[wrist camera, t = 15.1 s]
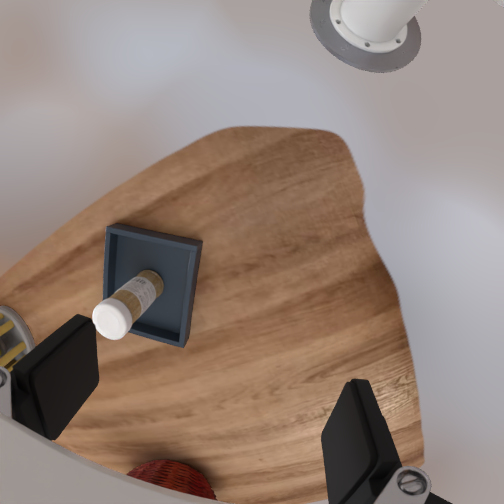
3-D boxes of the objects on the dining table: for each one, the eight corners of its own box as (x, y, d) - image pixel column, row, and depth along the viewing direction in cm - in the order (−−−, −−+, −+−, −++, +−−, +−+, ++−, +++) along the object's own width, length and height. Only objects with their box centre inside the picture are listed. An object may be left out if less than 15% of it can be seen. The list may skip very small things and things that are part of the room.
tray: (116, 222, 43) (106, 226, 40) (202, 241, 42) (197, 246, 39) (111, 315, 46) (102, 323, 43) (188, 338, 46) (183, 348, 43)
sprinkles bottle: (133, 289, 44) (88, 329, 31) (141, 263, 43) (94, 297, 30) (159, 302, 44) (121, 347, 31) (169, 276, 43) (129, 316, 30)
